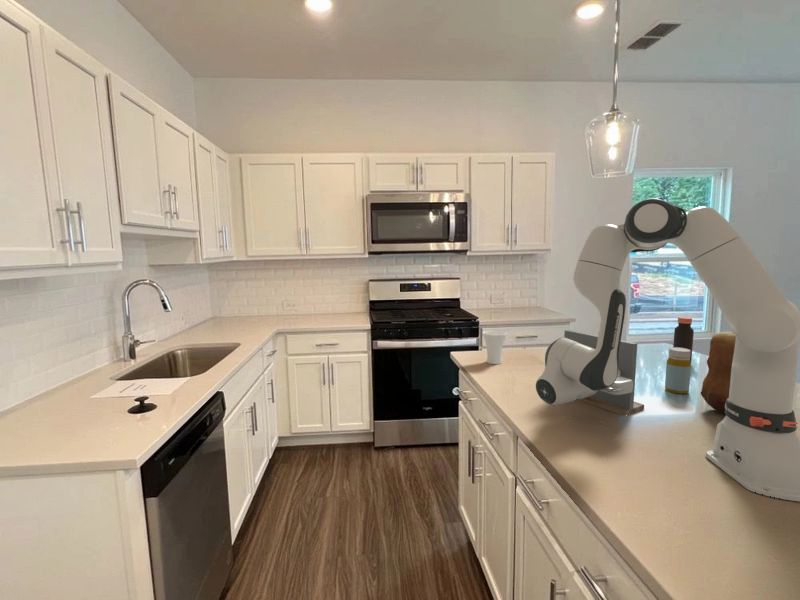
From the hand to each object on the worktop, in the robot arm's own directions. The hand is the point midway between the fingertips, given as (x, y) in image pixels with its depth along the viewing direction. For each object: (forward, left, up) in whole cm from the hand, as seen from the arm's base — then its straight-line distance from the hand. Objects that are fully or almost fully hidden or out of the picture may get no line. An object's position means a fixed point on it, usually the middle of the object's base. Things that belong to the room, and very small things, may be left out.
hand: (610, 374), depth 125 cm
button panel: (+9, +1, -12) cm, 15 cm away
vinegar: (+64, -40, -12) cm, 77 cm away
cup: (+46, +38, -12) cm, 61 cm away
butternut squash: (+7, -34, -12) cm, 37 cm away
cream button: (+1, -1, -2) cm, 2 cm away
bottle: (+25, -26, -12) cm, 39 cm away
